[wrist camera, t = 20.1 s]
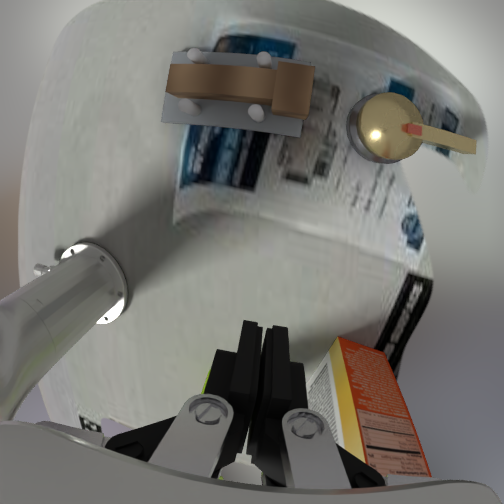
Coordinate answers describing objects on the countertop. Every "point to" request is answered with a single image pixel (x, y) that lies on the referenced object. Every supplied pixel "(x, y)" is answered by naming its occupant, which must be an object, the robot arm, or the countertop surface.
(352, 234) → the countertop surface
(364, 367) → the orange cereal box
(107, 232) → the countertop surface
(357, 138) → the base
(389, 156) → the gold lever handle
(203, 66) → the tan wooden bar
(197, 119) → the rack
